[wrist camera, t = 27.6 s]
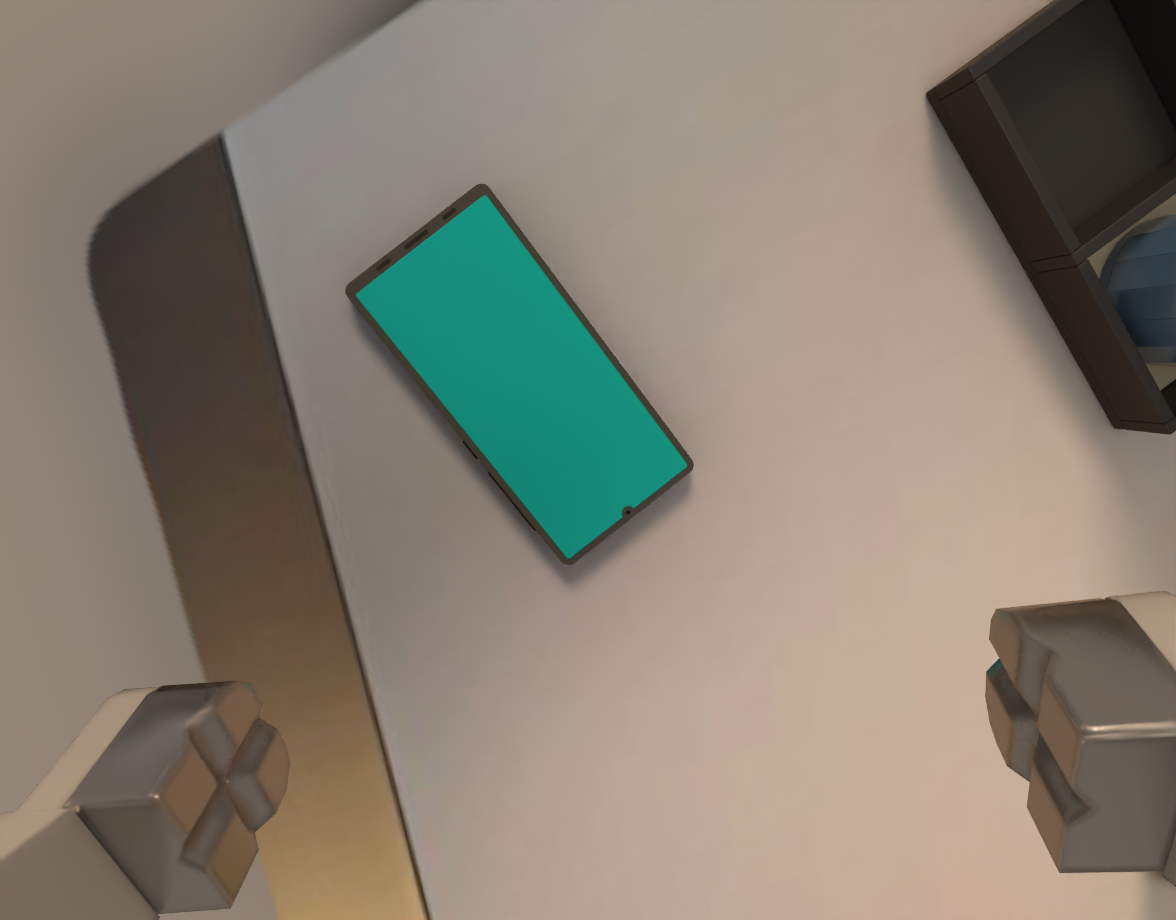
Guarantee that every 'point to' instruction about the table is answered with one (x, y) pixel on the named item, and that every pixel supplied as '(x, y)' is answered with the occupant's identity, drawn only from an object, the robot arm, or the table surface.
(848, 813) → the table surface
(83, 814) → the robot arm
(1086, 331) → the tray
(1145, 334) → the blue cup
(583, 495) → the smartphone
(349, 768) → the table surface
